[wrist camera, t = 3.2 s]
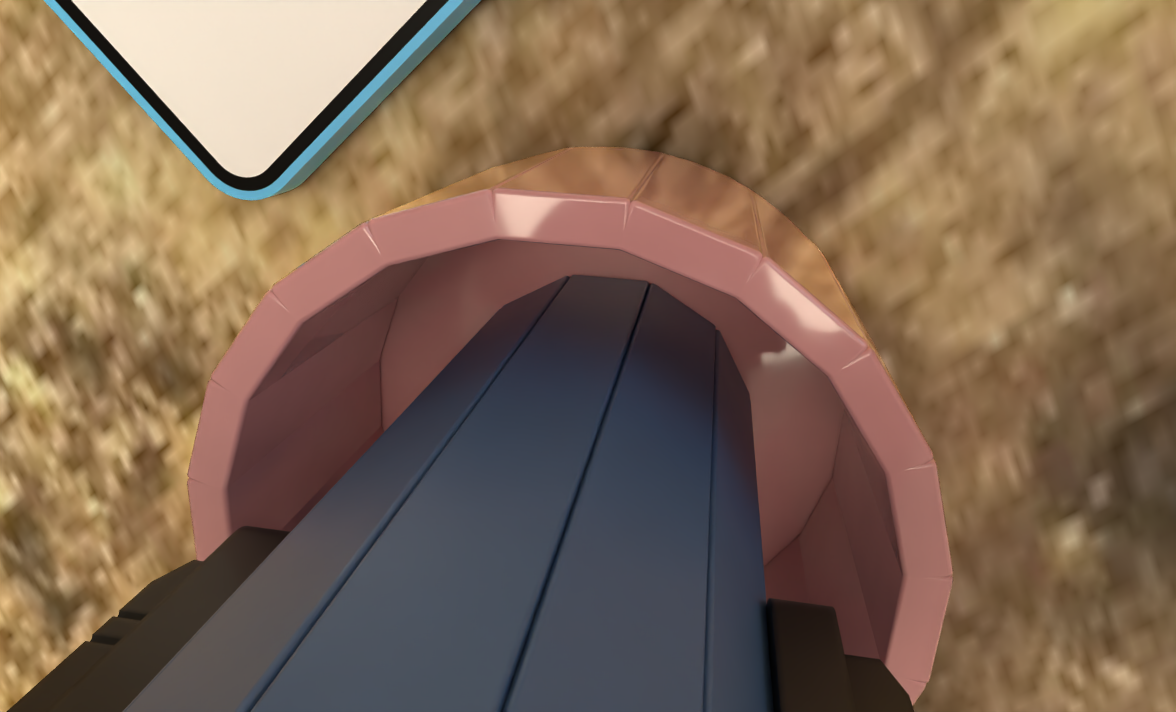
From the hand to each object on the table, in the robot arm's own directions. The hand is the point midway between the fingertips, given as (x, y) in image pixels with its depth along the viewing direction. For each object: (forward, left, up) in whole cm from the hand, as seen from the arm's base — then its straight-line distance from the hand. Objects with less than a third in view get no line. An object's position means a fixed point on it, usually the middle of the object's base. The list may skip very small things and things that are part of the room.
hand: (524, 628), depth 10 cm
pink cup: (0, 0, -7) cm, 7 cm away
